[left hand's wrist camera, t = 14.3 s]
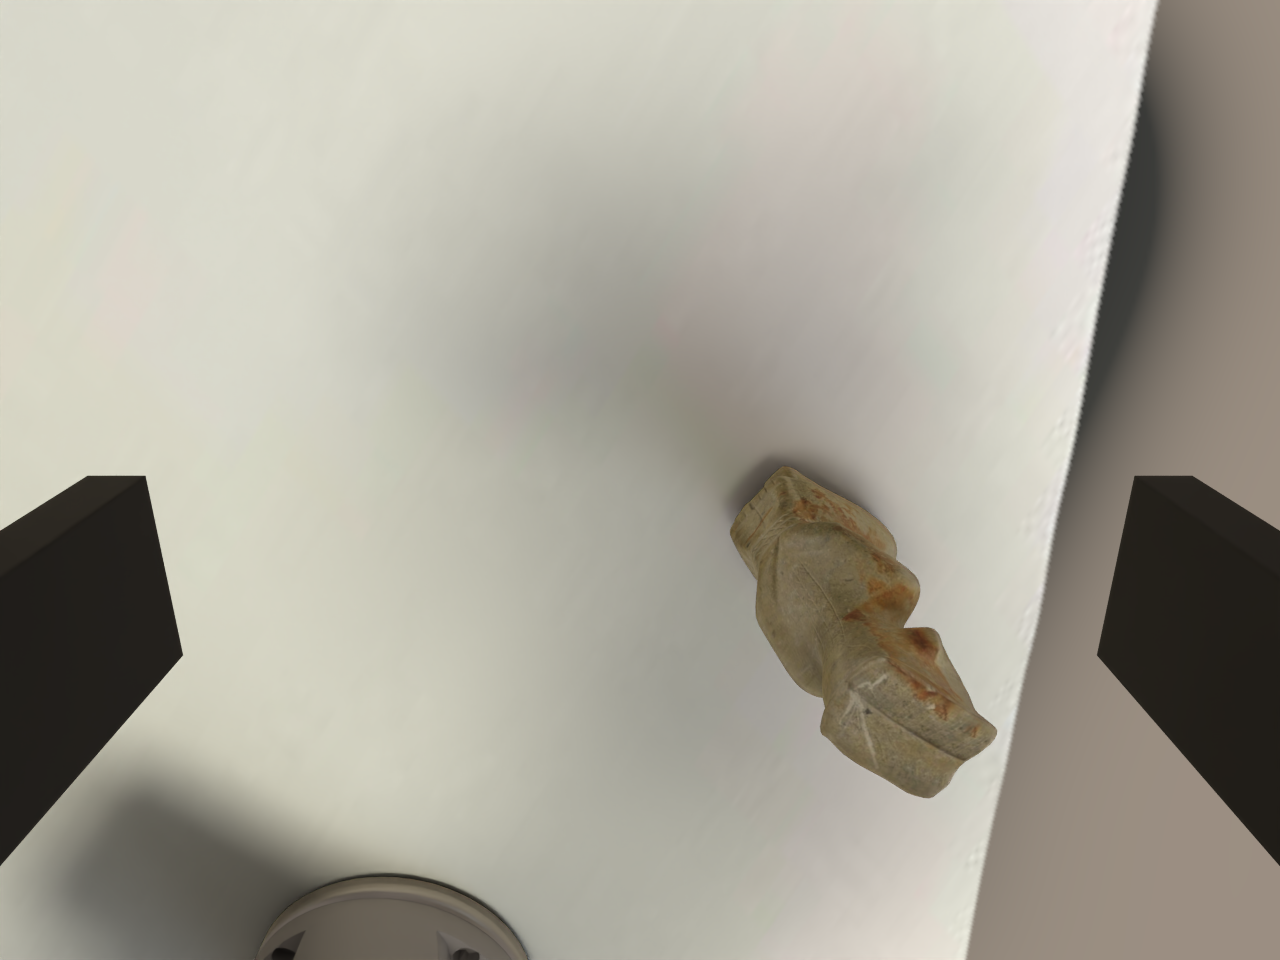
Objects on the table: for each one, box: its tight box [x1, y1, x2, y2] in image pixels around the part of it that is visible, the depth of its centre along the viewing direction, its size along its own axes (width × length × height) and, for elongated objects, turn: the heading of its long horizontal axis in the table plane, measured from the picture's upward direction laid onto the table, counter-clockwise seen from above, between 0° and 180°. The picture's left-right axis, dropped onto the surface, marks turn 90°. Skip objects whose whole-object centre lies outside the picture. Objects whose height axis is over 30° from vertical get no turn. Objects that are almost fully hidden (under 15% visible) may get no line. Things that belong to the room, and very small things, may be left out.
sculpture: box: [730, 466, 997, 798], centre depth 34 cm, size 6×7×15 cm
